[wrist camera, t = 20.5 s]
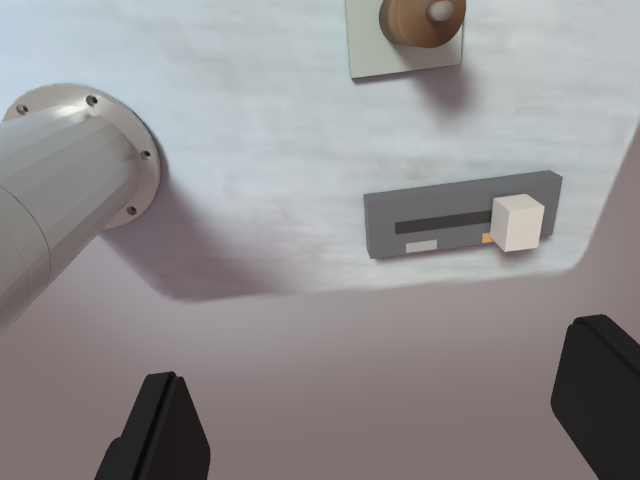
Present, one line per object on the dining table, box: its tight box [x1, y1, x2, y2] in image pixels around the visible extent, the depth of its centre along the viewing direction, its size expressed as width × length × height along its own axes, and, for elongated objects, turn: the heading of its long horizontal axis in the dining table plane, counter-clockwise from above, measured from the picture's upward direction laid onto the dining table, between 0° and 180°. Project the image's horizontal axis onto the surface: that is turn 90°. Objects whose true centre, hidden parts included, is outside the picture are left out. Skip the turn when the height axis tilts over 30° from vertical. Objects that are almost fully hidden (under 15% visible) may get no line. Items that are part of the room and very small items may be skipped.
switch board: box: [364, 170, 563, 259], centre depth 38 cm, size 18×6×2 cm, turn 96°
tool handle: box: [379, 0, 466, 48], centre depth 27 cm, size 4×4×9 cm
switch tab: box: [490, 194, 545, 252], centre depth 36 cm, size 3×4×3 cm
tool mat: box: [345, 0, 462, 78], centre depth 31 cm, size 9×8×1 cm
